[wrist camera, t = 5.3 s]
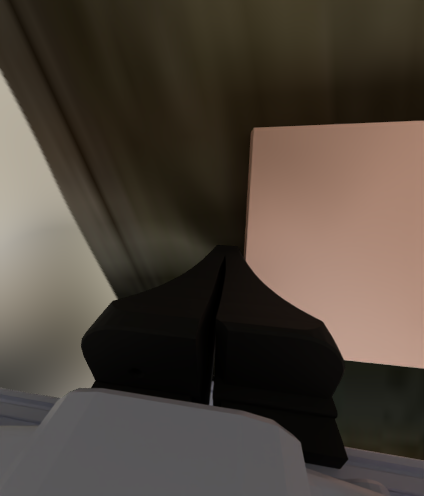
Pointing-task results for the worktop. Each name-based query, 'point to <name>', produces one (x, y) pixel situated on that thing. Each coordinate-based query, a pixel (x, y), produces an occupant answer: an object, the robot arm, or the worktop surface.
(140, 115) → the worktop surface
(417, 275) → the book
